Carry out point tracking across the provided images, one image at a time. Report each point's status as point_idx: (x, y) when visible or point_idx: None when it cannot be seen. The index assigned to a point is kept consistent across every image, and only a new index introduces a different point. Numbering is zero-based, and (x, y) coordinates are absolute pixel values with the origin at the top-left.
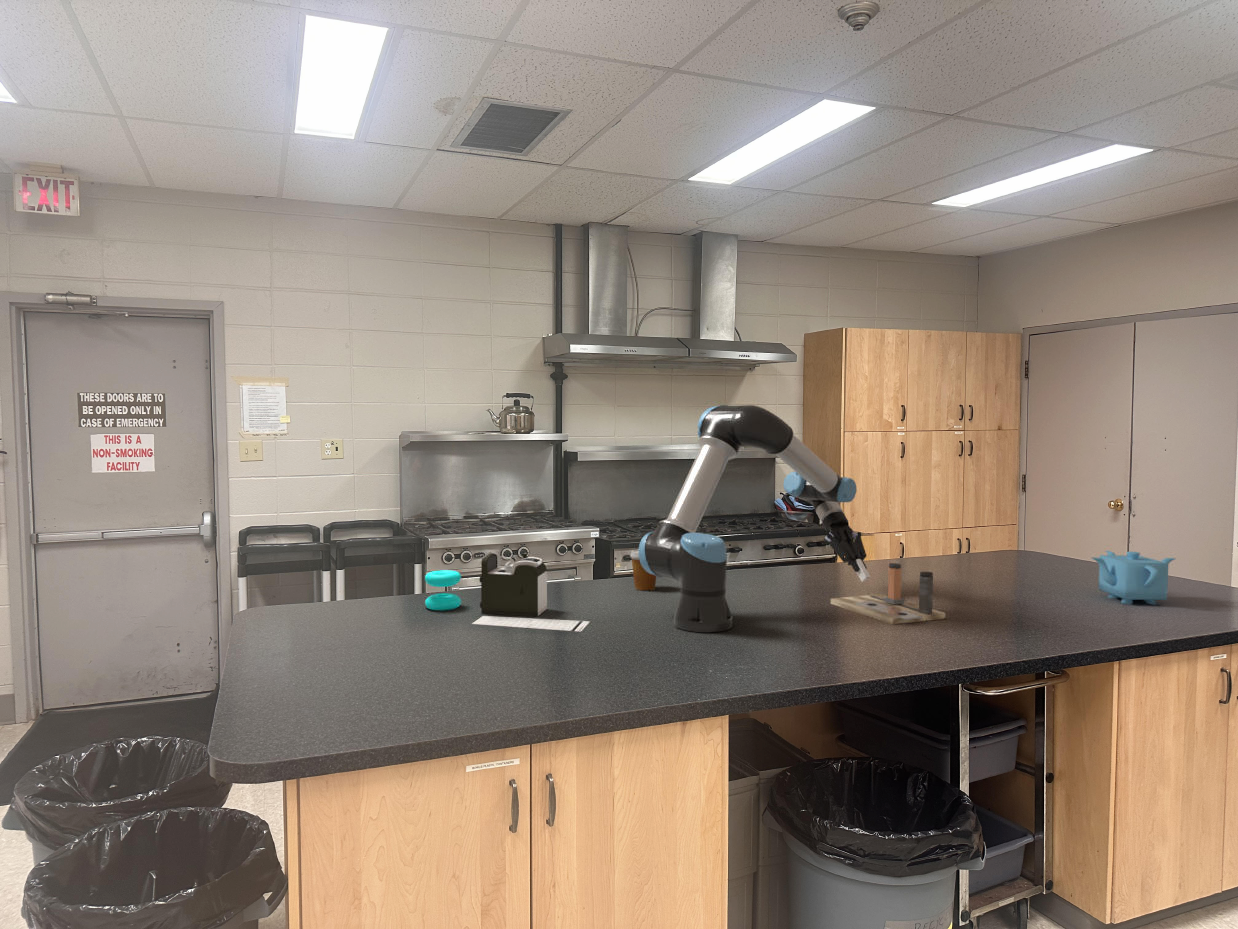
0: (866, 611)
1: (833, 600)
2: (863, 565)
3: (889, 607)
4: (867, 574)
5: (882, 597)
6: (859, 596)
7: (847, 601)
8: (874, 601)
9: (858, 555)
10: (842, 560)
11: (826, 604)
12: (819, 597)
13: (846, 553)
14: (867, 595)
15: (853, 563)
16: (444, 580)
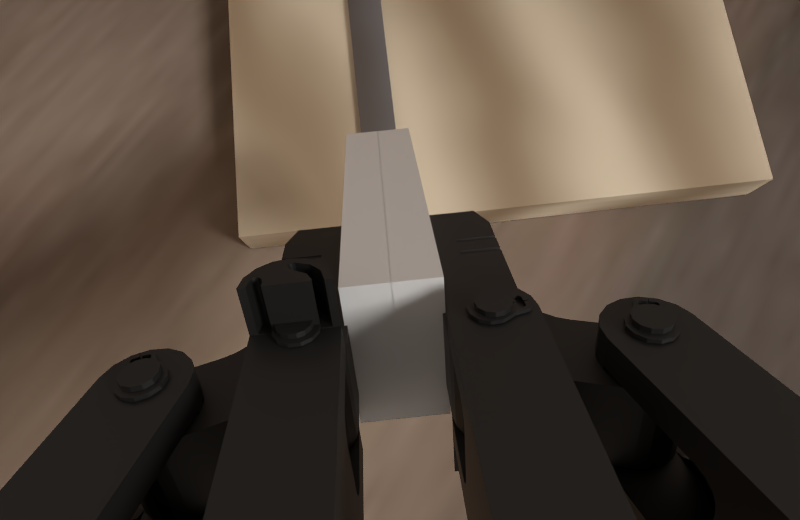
0: None
1: (759, 146)
2: (355, 209)
3: None
4: (370, 144)
5: (309, 116)
6: (479, 194)
7: (676, 59)
8: (462, 10)
9: (328, 366)
10: (680, 457)
11: (787, 187)
12: None
13: (699, 387)
14: None
15: (510, 280)
16: None
